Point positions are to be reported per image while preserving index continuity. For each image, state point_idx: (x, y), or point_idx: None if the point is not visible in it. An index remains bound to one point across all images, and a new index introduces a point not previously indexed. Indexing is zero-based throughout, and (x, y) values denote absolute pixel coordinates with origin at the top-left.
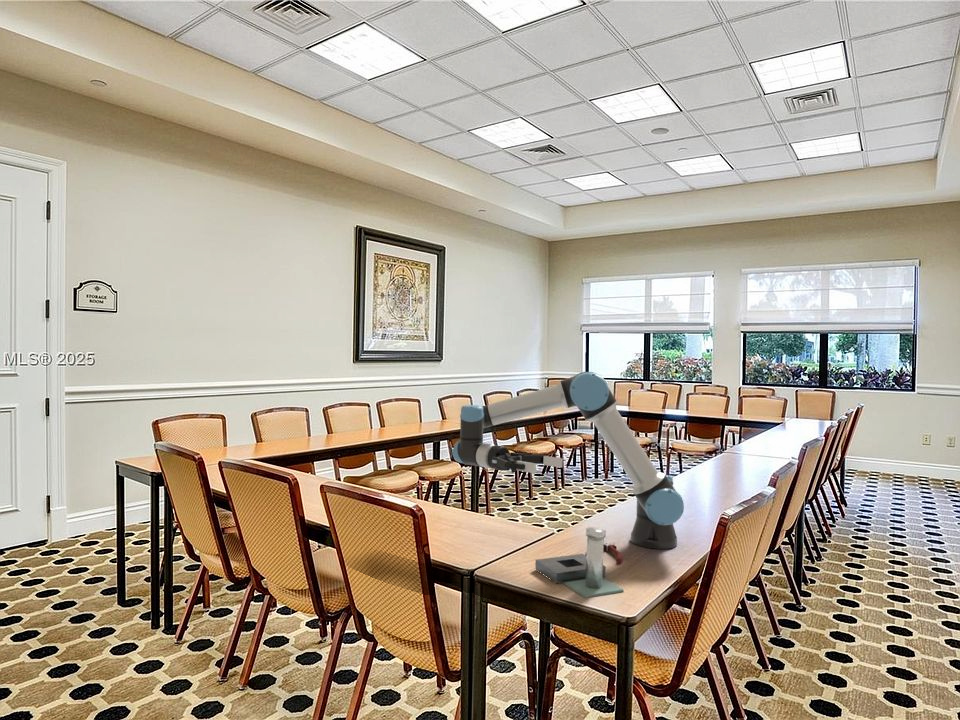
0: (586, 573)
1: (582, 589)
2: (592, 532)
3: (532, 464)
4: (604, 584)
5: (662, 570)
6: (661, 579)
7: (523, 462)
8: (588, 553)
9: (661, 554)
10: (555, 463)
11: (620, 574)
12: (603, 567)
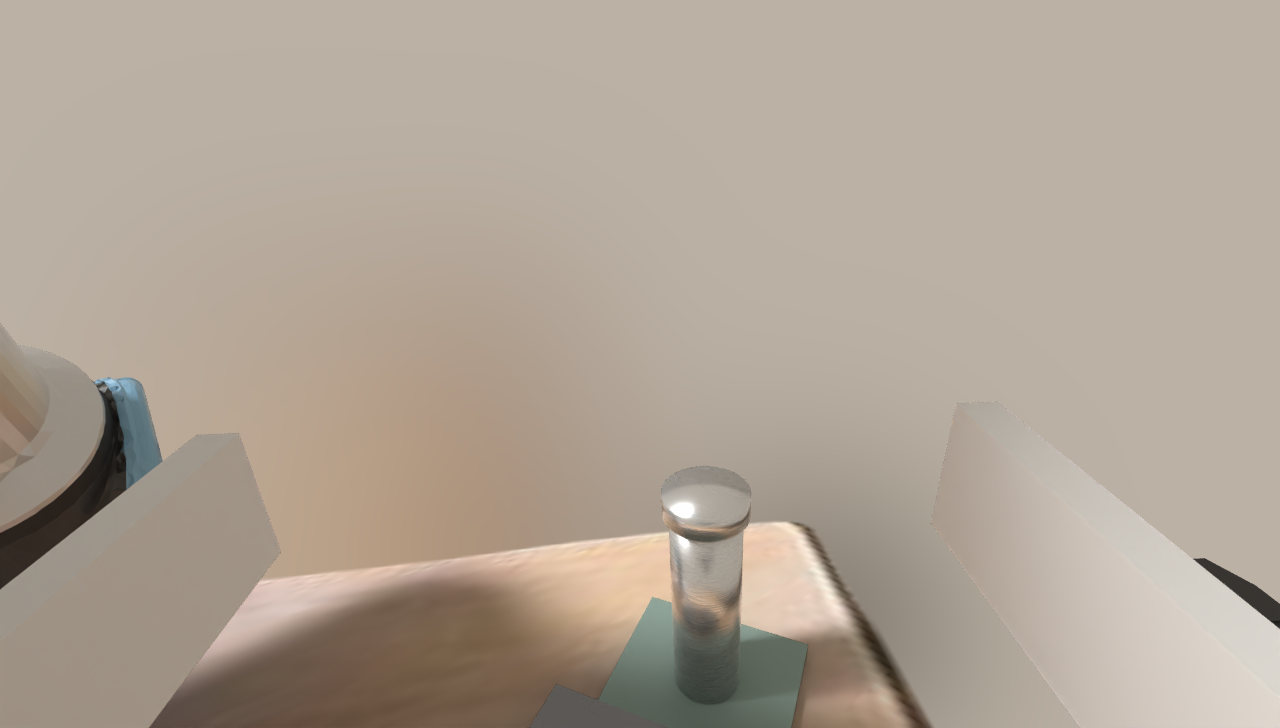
0: (737, 652)
1: (773, 681)
2: (747, 485)
3: (1015, 434)
4: (661, 656)
5: (357, 615)
6: (460, 582)
7: (1183, 560)
8: (740, 579)
9: None
10: (194, 594)
11: (489, 691)
12: (566, 690)
